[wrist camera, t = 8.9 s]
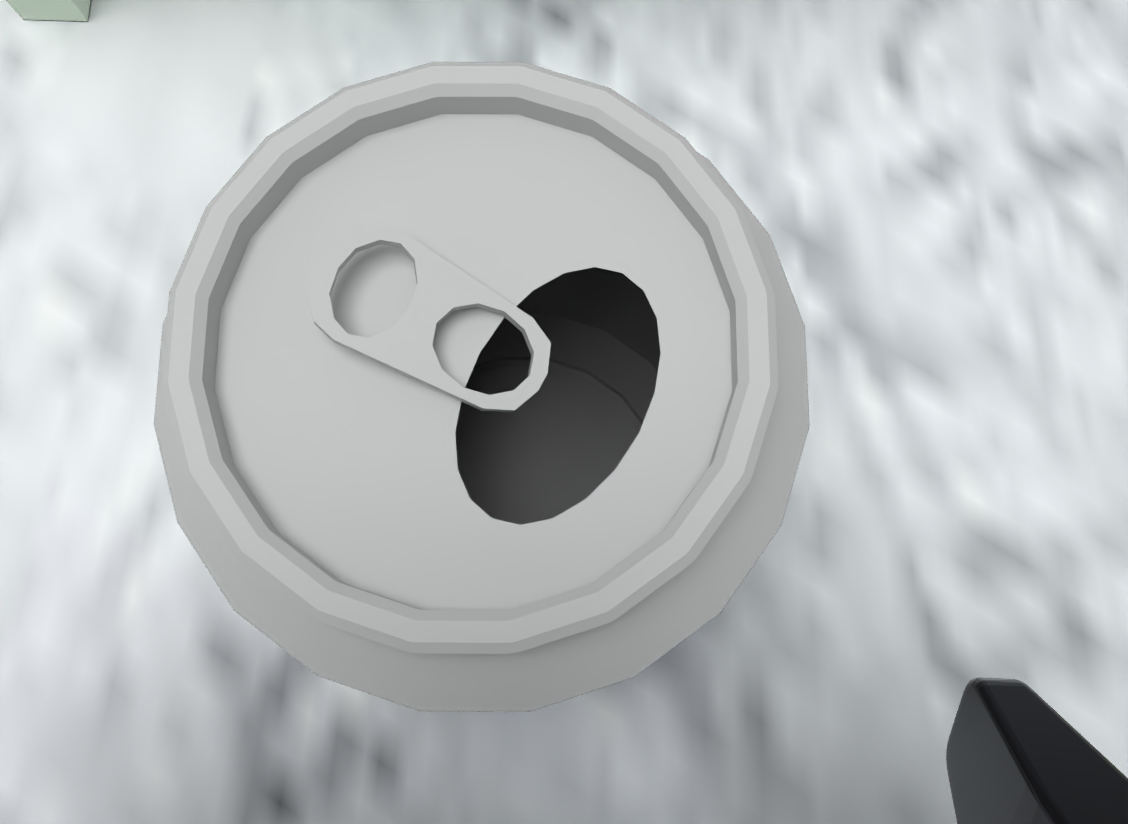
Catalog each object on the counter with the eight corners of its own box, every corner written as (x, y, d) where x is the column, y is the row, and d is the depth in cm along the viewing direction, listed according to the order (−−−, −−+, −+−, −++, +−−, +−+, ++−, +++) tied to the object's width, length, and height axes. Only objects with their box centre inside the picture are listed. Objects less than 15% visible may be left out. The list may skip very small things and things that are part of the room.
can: (601, 749, 21) (638, 882, 9) (276, 574, 22) (-65, 494, 10) (761, 420, 22) (970, 177, 11) (450, 267, 23) (328, -116, 12)
